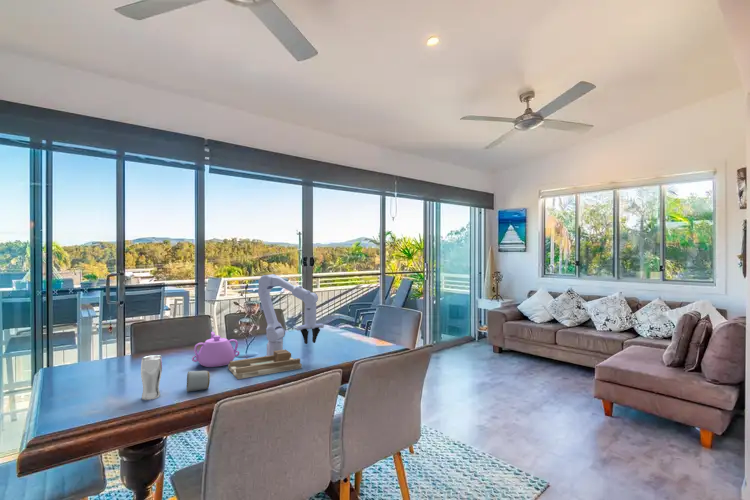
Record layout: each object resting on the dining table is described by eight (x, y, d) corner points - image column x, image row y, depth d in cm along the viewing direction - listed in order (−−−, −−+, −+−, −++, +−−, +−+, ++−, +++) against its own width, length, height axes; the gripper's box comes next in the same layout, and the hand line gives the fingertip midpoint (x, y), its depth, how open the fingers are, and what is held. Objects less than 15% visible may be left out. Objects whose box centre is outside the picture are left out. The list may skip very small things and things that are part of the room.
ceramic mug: (210, 391, 151) (210, 371, 152) (187, 394, 147) (187, 374, 147) (206, 383, 161) (207, 365, 161) (185, 386, 156) (185, 367, 157)
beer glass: (146, 393, 147) (146, 355, 147) (164, 393, 148) (165, 355, 148) (136, 400, 140) (137, 360, 140) (156, 400, 141) (156, 360, 141)
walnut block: (273, 361, 186) (273, 351, 186) (285, 359, 190) (285, 349, 190) (277, 364, 181) (277, 353, 181) (289, 362, 185) (289, 352, 185)
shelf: (228, 368, 180) (228, 360, 180) (288, 359, 196) (288, 351, 196) (237, 379, 166) (237, 370, 166) (301, 368, 182) (301, 360, 182)
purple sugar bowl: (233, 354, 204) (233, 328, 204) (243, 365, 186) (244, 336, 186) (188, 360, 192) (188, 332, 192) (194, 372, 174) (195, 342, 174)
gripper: (300, 319, 187) (299, 346, 187) (326, 316, 195) (326, 342, 195) (294, 316, 192) (294, 343, 192) (320, 314, 201) (320, 340, 201)
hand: (309, 343), depth 194 cm, fingers open, 4 cm apart
